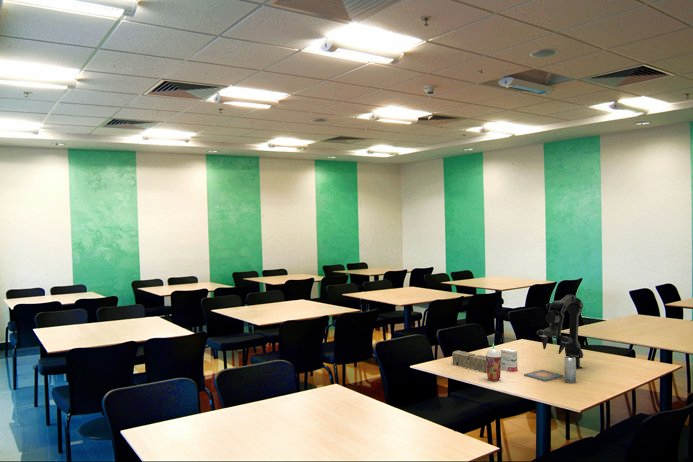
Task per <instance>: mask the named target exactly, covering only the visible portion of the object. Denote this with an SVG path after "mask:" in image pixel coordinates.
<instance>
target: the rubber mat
mask: <svg viewBox="0 0 693 462" xmlns="http://www.w3.org/2000/svg"><path fill="white" fill-rule="evenodd" d="M523 376H524V377H526V378H531V379H535V380H538V381H542V382H549V381H552V380H556V379H561V378H565V374H561V373H557V372H553V371H549V370H545V369H539V370H535V371H531V372H526V373H523Z"/></svg>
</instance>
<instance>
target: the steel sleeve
mask: <svg viewBox="0 0 693 462" xmlns="http://www.w3.org/2000/svg"><path fill="white" fill-rule="evenodd" d="M564 382H565V383H568V384H576V383H577V369H576V358H575V357H570V356H564Z"/></svg>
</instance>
